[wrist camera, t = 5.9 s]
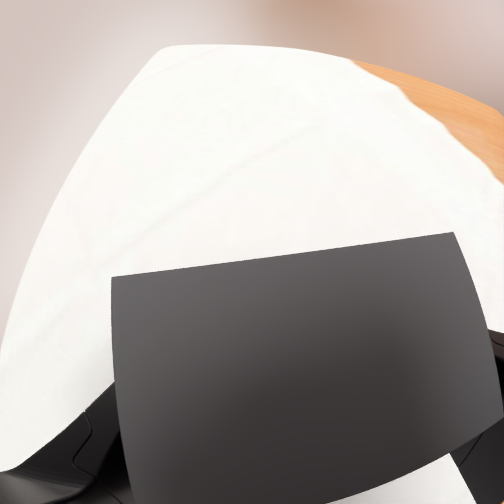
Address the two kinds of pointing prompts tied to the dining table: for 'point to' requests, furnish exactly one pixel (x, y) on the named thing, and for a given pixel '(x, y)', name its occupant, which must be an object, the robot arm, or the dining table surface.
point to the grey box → (299, 372)
